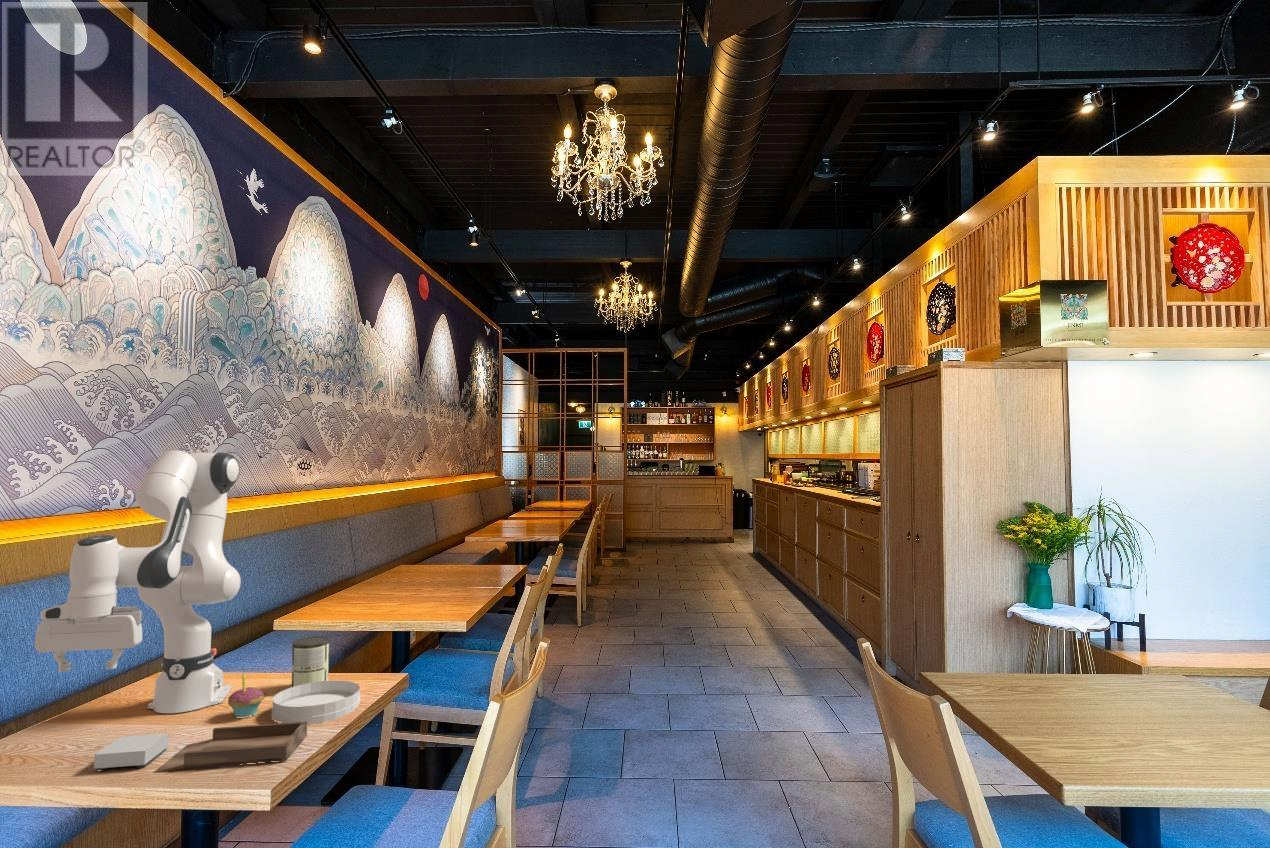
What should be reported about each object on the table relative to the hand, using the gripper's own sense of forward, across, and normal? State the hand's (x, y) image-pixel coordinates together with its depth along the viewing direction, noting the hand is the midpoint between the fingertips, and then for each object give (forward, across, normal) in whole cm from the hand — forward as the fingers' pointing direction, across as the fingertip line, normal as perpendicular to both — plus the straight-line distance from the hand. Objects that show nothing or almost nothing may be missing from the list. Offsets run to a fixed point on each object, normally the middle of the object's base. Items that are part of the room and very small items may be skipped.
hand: (88, 669), depth 150 cm
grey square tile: (+21, -10, -1) cm, 23 cm away
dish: (+21, -42, -27) cm, 54 cm away
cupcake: (+20, -24, -27) cm, 41 cm away
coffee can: (+20, -34, -48) cm, 62 cm away
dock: (+21, -32, -1) cm, 38 cm away
